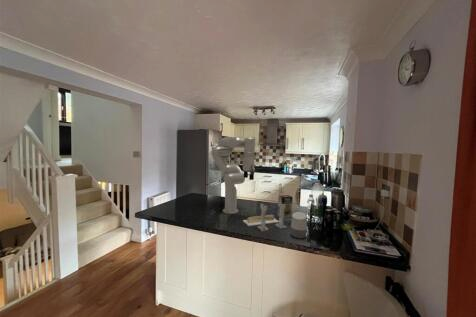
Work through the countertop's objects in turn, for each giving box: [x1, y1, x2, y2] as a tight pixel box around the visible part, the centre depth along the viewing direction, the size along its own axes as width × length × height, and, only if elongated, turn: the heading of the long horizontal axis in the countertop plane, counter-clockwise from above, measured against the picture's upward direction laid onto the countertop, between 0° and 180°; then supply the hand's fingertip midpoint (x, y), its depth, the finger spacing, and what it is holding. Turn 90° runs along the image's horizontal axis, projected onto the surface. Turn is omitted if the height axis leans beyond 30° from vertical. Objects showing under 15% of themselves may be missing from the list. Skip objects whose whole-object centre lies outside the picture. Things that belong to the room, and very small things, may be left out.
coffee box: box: [277, 194, 294, 219], centre depth 160 cm, size 9×6×16 cm
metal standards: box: [256, 202, 288, 232], centre depth 138 cm, size 6×19×16 cm, turn 112°
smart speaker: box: [290, 211, 308, 240], centre depth 125 cm, size 10×9×14 cm
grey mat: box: [242, 217, 279, 227], centre depth 148 cm, size 10×24×1 cm, turn 112°
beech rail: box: [246, 214, 275, 223], centre depth 148 cm, size 3×20×3 cm, turn 112°
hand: (248, 178), depth 149 cm, fingers open, 9 cm apart
